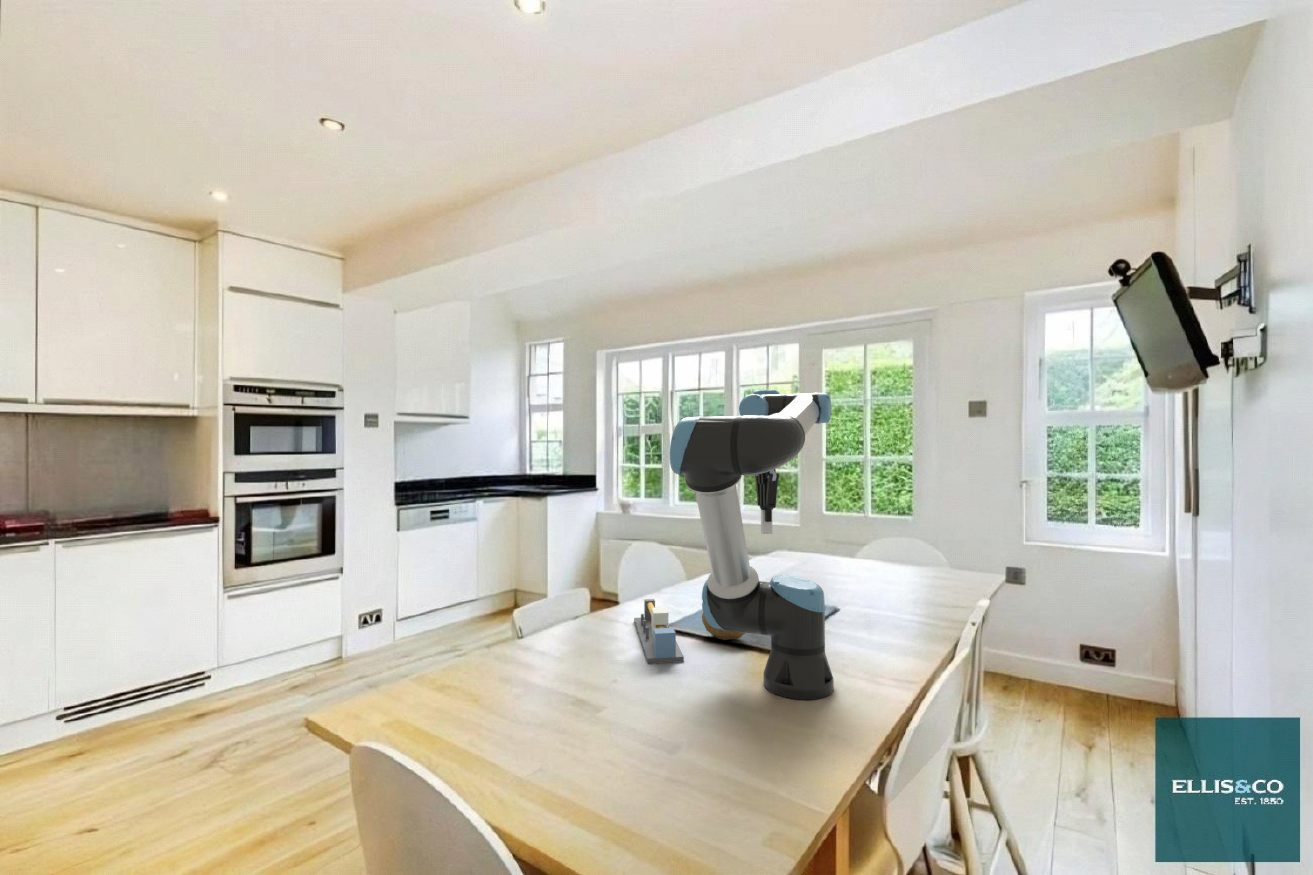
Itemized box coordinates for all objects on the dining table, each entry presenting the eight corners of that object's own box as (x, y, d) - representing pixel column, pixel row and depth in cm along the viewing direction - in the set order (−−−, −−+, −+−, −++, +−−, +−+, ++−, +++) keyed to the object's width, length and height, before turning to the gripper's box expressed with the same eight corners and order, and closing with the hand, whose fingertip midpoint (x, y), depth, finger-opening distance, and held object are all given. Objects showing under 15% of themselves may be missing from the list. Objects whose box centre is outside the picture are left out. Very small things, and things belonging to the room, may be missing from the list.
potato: (739, 649, 157) (738, 618, 157) (694, 638, 165) (694, 609, 165) (757, 639, 164) (757, 610, 164) (714, 629, 173) (714, 601, 173)
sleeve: (668, 637, 155) (668, 612, 155) (653, 637, 155) (653, 613, 155) (665, 630, 160) (665, 607, 160) (651, 631, 160) (651, 607, 160)
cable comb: (683, 661, 148) (683, 632, 148) (647, 663, 147) (647, 633, 147) (663, 620, 182) (663, 596, 182) (634, 621, 181) (634, 597, 181)
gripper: (788, 447, 158) (788, 536, 158) (770, 446, 171) (771, 529, 171) (761, 447, 157) (761, 537, 157) (745, 446, 170) (745, 530, 169)
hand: (766, 533), depth 164 cm, fingers closed
